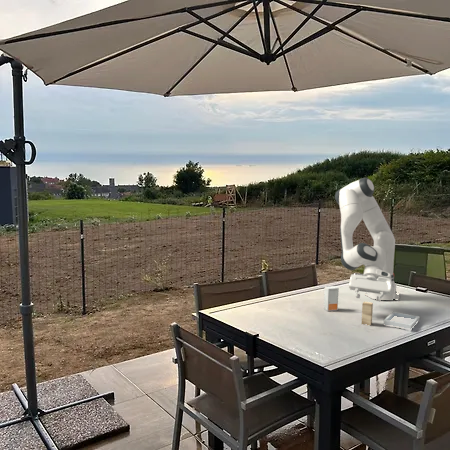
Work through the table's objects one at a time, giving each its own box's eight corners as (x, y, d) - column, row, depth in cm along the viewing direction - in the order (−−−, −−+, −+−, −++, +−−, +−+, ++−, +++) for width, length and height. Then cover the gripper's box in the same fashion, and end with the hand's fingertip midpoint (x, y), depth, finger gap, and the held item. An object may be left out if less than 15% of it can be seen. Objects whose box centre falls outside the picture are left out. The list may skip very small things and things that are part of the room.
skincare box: (327, 311, 214) (328, 288, 213) (323, 309, 219) (324, 286, 217) (338, 310, 216) (338, 287, 215) (333, 308, 220) (334, 285, 219)
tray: (393, 317, 206) (393, 311, 206) (419, 322, 199) (419, 316, 199) (383, 325, 194) (383, 319, 193) (410, 331, 187) (411, 325, 186)
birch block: (363, 321, 199) (364, 301, 198) (372, 323, 197) (372, 302, 196) (361, 324, 195) (362, 303, 194) (370, 325, 194) (371, 304, 193)
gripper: (350, 269, 211) (344, 292, 203) (394, 274, 201) (389, 299, 193) (352, 276, 215) (346, 299, 208) (394, 281, 205) (390, 306, 198)
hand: (367, 299), depth 200 cm, fingers open, 8 cm apart
